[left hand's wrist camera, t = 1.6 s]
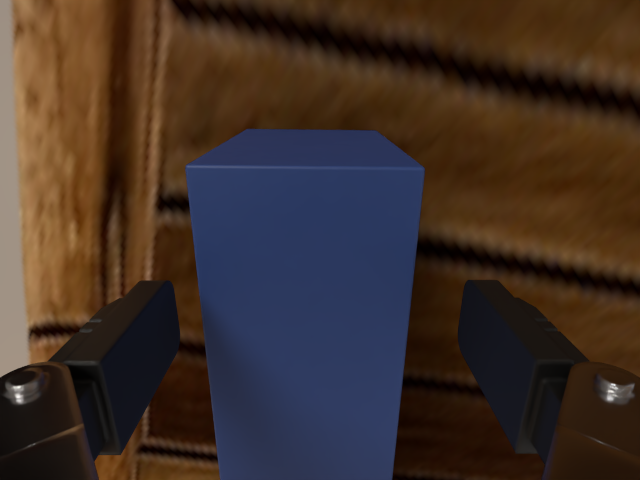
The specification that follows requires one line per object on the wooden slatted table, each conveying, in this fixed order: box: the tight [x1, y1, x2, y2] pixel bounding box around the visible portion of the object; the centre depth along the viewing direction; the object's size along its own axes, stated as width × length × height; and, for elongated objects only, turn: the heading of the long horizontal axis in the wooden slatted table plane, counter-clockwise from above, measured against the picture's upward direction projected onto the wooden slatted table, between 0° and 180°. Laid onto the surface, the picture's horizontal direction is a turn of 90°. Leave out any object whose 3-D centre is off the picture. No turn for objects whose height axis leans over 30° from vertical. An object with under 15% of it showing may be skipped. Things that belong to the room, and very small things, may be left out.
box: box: [185, 129, 425, 480], centre depth 19 cm, size 25×6×9 cm, turn 179°
